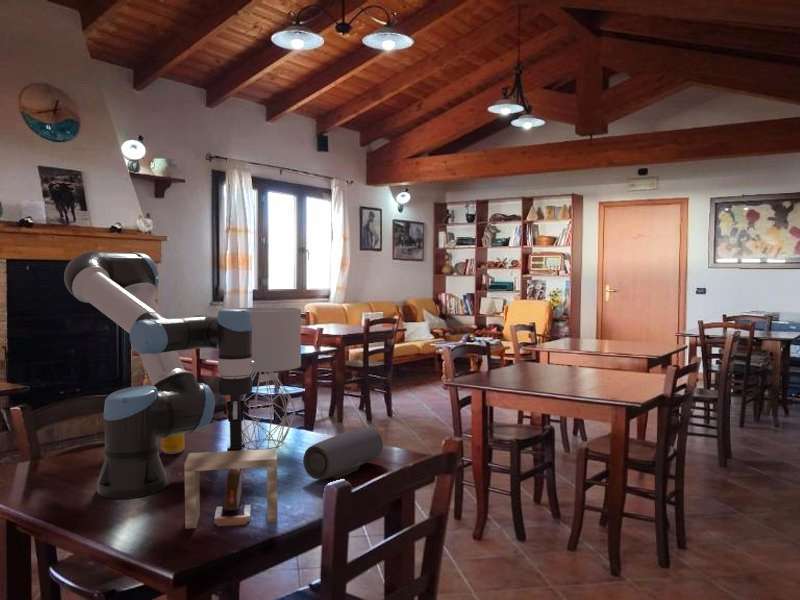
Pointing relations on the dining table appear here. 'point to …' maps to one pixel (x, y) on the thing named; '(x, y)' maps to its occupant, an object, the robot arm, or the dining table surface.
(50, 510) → the dining table surface
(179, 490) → the dining table surface
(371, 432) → the bluetooth speaker
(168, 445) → the beer can
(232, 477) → the tin
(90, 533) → the dining table surface
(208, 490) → the dining table surface
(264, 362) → the table lamp
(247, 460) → the overhang
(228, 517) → the grey and orange bracket
